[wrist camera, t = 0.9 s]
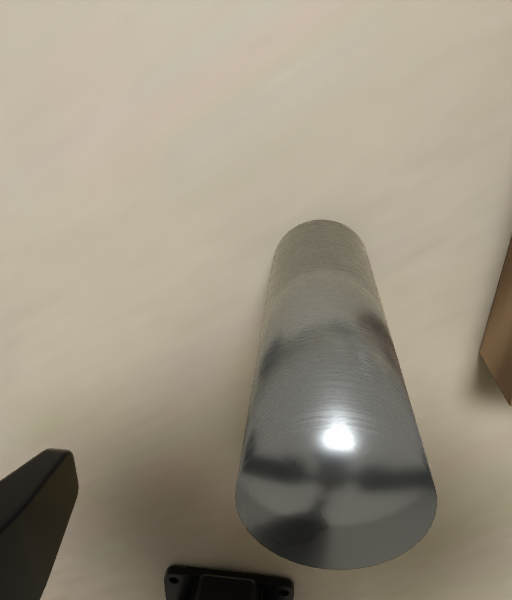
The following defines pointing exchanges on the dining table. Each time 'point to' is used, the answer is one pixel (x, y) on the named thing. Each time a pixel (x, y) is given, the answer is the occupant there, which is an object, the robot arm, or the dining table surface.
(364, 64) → the dining table surface
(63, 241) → the dining table surface
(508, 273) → the hole block
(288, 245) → the tall pin
